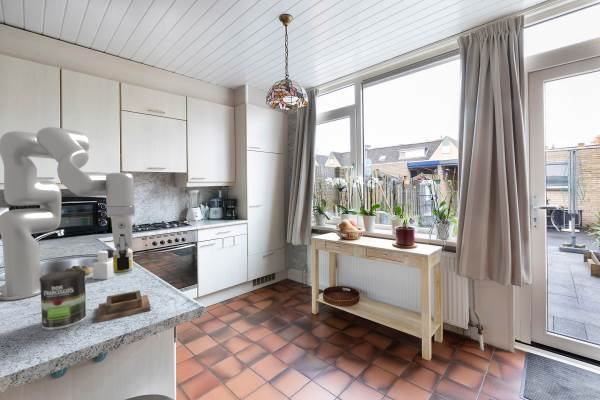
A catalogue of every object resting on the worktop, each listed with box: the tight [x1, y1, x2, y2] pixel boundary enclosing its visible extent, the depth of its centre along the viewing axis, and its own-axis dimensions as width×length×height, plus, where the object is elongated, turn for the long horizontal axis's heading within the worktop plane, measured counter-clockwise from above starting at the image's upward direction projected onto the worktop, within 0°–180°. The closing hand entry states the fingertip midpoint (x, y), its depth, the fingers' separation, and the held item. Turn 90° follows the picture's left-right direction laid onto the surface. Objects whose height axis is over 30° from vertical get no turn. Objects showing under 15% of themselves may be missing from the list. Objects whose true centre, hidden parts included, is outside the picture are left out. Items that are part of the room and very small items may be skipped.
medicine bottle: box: [91, 248, 119, 281], centre depth 123 cm, size 7×7×12 cm
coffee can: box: [39, 269, 88, 331], centre depth 82 cm, size 10×10×14 cm
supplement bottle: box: [113, 244, 134, 276], centre depth 90 cm, size 5×5×10 cm
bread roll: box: [64, 265, 93, 276], centre depth 127 cm, size 11×11×5 cm
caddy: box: [96, 290, 152, 323], centre depth 91 cm, size 14×12×4 cm
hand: (123, 266), depth 90 cm, fingers closed on supplement bottle, 5 cm apart
